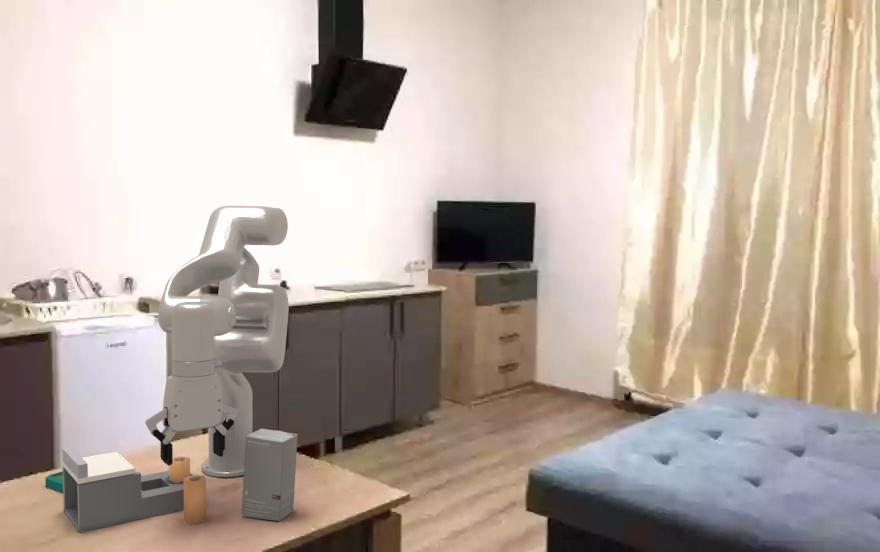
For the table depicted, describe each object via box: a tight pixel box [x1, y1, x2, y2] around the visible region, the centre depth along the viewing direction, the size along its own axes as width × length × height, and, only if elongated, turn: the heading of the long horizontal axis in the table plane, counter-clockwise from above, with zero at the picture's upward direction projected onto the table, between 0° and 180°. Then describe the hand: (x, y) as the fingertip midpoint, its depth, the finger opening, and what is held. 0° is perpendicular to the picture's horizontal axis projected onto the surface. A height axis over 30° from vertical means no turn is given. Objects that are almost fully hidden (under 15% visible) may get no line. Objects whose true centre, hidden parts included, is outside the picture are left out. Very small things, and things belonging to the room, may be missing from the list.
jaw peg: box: [183, 474, 207, 525], centre depth 152 cm, size 4×4×8 cm
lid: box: [61, 446, 136, 484], centre depth 153 cm, size 10×12×4 cm
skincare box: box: [241, 428, 298, 522], centre depth 156 cm, size 8×7×16 cm
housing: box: [62, 456, 194, 533], centre depth 157 cm, size 24×12×9 cm, turn 128°
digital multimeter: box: [44, 470, 63, 494], centre depth 172 cm, size 7×15×3 cm, turn 147°
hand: (193, 459), depth 151 cm, fingers open, 9 cm apart
